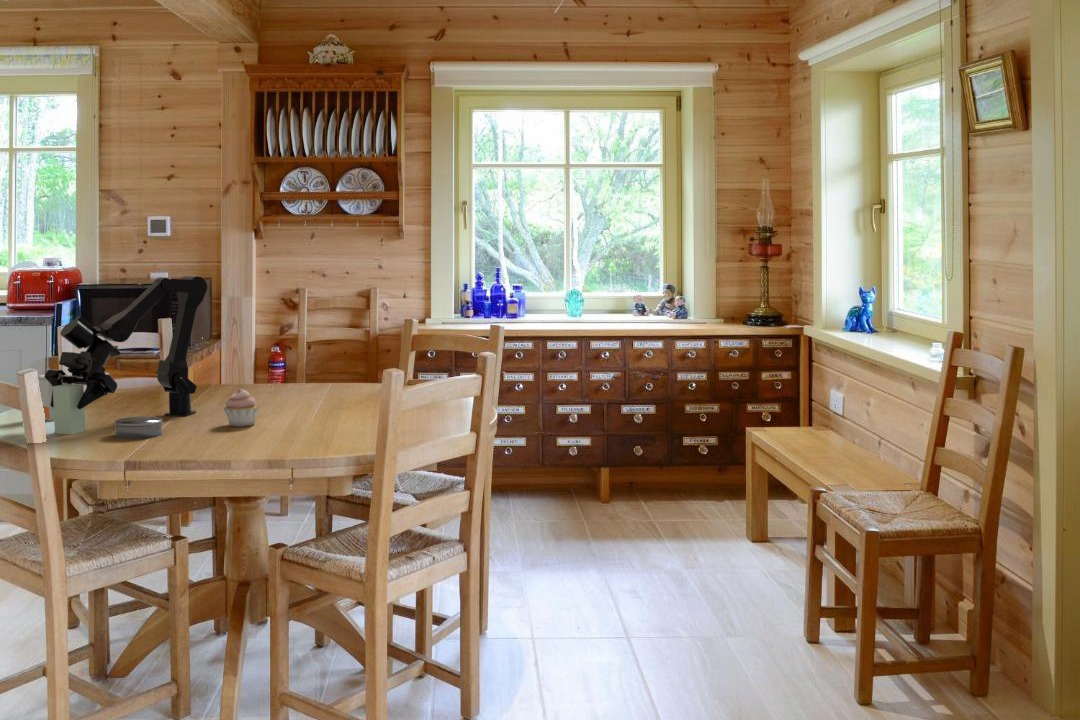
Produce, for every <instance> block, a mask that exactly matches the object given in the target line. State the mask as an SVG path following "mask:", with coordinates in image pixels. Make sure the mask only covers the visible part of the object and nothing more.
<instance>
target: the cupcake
mask: <svg viewBox="0 0 1080 720" xmlns="http://www.w3.org/2000/svg"><path fill="white" fill-rule="evenodd" d="M228 398H229V399H227V400H226V401H225V406H224V407H223V408H222V409H223V411H224V413H225V414H226V417H227V420H228V424H229V426H230V427H233V426H234V427H235V428H245V426H247V427H252V426H254V424H255V422H256V416H257V413H258V410H259V408H260V406H258V405H256V404H257V403H256V399H255V398H254V397H252V396H251V395H250V393H249V392H248V391H247V390H246V389H243V388H240V387H239V388H238V390H237V393H233V394H231V395H230V397H228ZM234 427H233V428H234Z"/></svg>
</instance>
